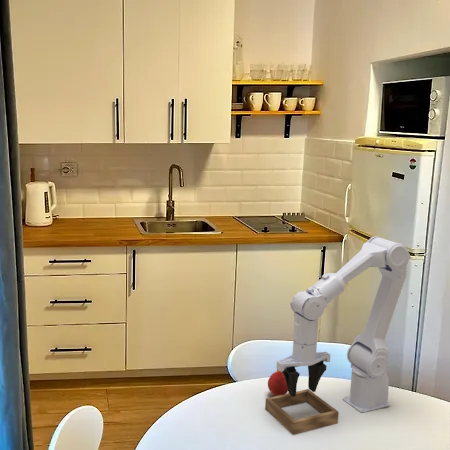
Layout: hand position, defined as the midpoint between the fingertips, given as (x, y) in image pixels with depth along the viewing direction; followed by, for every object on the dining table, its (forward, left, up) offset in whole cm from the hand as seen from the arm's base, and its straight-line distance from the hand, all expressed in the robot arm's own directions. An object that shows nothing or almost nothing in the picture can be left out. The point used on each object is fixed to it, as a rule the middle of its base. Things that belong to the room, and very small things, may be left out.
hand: (302, 392), depth 146 cm
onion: (0, -11, -7) cm, 13 cm away
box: (0, 0, -6) cm, 6 cm away
